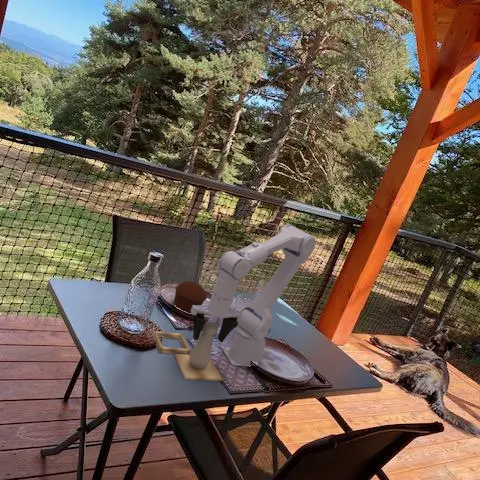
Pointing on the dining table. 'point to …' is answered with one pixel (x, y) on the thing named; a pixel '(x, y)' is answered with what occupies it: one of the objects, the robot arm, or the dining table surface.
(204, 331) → the beige bowling pin
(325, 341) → the dining table surface
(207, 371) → the cork mat
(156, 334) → the birch collar
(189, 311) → the muffin
